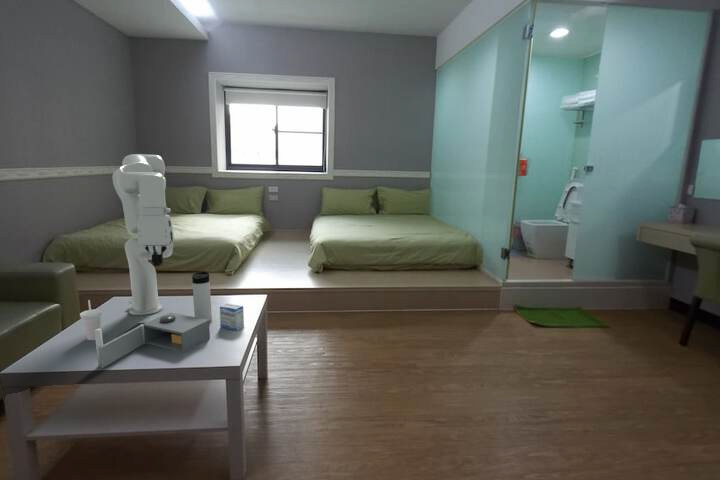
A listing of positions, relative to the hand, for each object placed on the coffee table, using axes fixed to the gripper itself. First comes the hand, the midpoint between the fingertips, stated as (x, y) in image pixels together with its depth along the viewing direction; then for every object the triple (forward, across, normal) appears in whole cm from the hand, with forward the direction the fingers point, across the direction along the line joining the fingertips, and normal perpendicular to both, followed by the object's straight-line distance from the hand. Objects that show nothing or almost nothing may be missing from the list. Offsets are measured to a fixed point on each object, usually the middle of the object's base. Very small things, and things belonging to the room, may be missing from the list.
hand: (157, 265), depth 132 cm
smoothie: (+28, +25, -5) cm, 38 cm away
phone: (+29, +13, -9) cm, 33 cm away
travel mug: (+28, -9, -17) cm, 34 cm away
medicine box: (+28, -22, -10) cm, 37 cm away
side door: (+28, +9, +10) cm, 31 cm away
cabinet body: (+28, -5, 0) cm, 28 cm away
